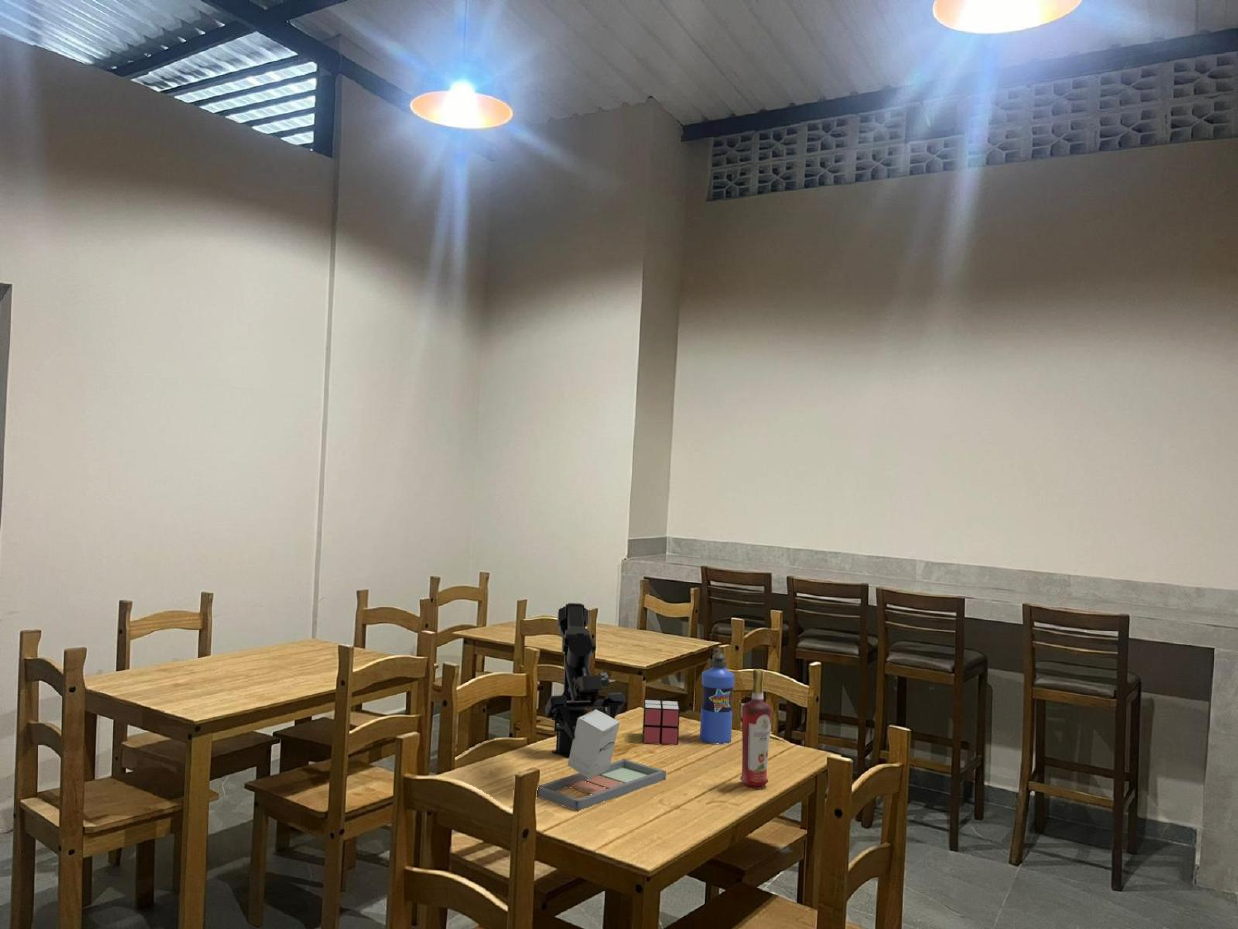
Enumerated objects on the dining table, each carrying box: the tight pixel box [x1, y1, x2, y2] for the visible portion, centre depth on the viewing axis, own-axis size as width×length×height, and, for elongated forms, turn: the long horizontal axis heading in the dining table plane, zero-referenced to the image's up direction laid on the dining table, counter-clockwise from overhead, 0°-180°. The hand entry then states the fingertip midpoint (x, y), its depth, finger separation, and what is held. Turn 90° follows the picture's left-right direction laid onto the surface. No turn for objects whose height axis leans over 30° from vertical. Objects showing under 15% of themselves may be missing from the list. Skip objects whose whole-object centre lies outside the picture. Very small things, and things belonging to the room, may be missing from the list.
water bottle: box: [699, 651, 735, 745], centre depth 260 cm, size 9×9×25 cm
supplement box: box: [567, 708, 620, 779], centre depth 209 cm, size 7×7×13 cm
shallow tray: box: [536, 758, 667, 811], centre depth 213 cm, size 13×32×2 cm, turn 140°
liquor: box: [739, 668, 773, 789], centre depth 220 cm, size 7×7×28 cm
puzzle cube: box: [641, 699, 681, 746], centre depth 257 cm, size 10×10×10 cm
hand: (592, 737), depth 208 cm, fingers closed on supplement box, 9 cm apart
